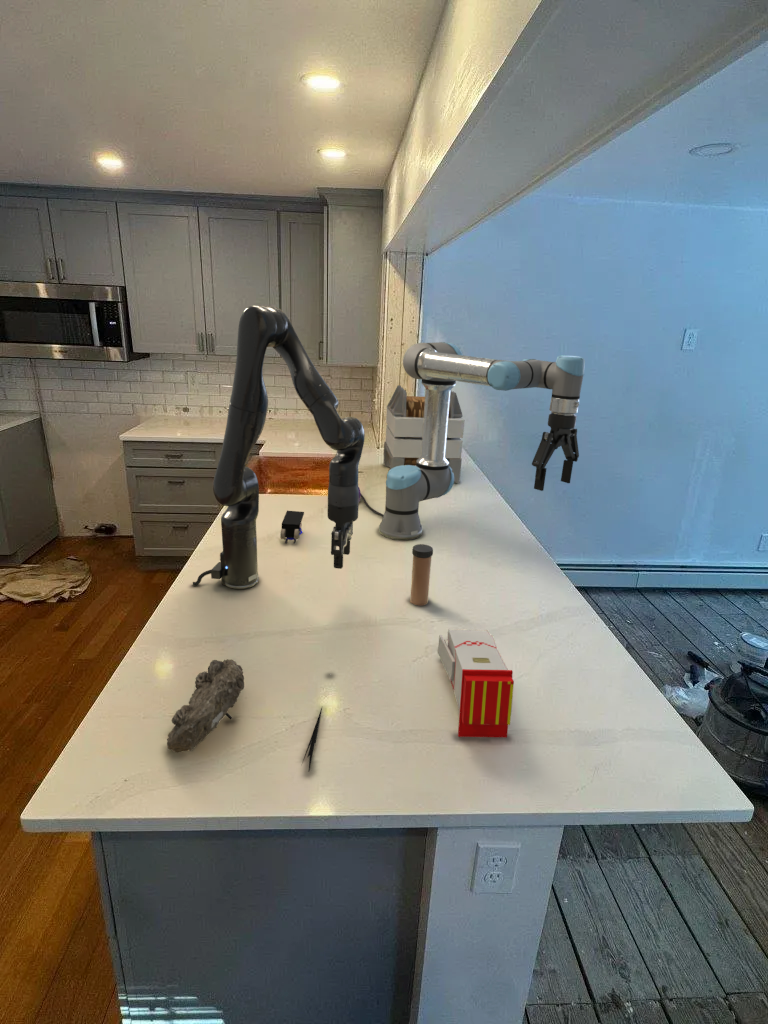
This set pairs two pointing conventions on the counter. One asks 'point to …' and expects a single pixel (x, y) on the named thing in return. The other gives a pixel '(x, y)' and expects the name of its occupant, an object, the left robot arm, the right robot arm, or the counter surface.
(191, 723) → the fossil
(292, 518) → the figurine character
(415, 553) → the lid
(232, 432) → the left robot arm
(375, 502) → the counter surface
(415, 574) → the jar
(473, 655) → the toy
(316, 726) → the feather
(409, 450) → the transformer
